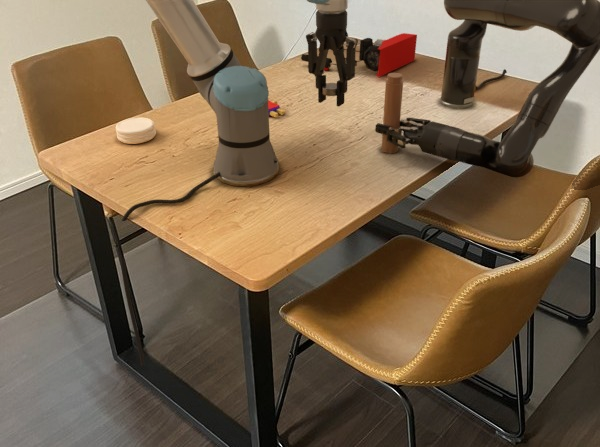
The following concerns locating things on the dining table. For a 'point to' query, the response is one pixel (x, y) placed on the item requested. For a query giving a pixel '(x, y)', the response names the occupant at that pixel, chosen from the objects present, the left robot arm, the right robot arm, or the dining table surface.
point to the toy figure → (274, 109)
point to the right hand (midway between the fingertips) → (381, 124)
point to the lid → (329, 89)
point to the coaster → (135, 130)
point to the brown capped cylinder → (392, 108)
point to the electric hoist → (383, 53)
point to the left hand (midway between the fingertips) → (331, 102)
